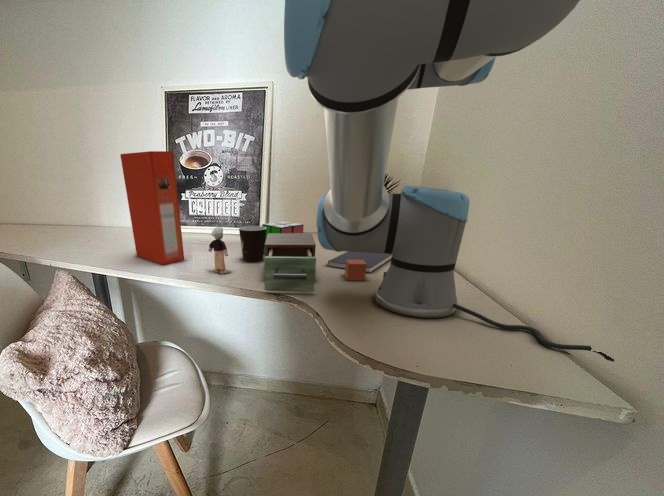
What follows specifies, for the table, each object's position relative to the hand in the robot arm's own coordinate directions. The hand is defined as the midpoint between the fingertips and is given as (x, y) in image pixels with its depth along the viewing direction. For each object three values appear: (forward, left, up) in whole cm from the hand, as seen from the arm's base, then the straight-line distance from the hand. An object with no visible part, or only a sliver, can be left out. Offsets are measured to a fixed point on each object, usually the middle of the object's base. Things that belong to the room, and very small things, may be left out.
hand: (357, 238), depth 84 cm
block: (0, 0, -11) cm, 11 cm away
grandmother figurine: (+22, +30, -11) cm, 38 cm away
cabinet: (+12, +13, -11) cm, 20 cm away
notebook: (+12, -13, -11) cm, 21 cm away
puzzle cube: (+32, +4, -11) cm, 34 cm away
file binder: (+46, +43, -11) cm, 64 cm away
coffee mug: (+31, +15, -11) cm, 36 cm away
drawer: (+1, +19, -10) cm, 21 cm away
